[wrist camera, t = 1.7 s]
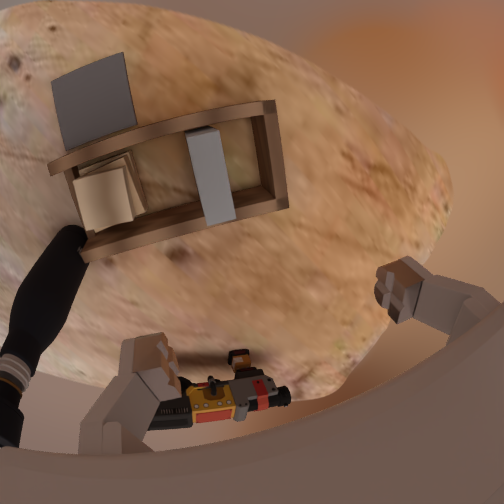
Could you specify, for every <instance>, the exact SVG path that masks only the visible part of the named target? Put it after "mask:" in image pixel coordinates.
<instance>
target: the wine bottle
mask: <svg viewBox="0 0 504 504" xmlns="http://www.w3.org/2000/svg"><path fill="white" fill-rule="evenodd" d="M87 240H88V237H87V235H86V232H85V230H84V229H83V228H81V227H79V226H76V225H69V226H66V227H64V228H62V229H61V230H60V231H59V232H58V233H57V235H56V236H55V237H54V239H53V240H52V241H51V242H50V244H49V245H48V246H47V248H46V249H45V250H44V252H43V253H42V255H41V256H40V257H39V259H38V260H37V262H36V263H35V264H34V266H33V267H32V269H31V270H30V272H29V273H28V275H27V276H26V278H25V279H24V281H23V282H22V284H21V285H20V287H19V289H18V291H17V294H16V296H15V299H14V302H13V306H12V309H11V314H10V322H9V333H8V335H7V338H6V340H5V342H4V344H3V346H2V349H1V352H0V447H1V448H2V447H5V446H10V447H16V448H19V443H20V437H21V431H22V425H23V421H24V415H23V413H22V412H21V411H20V410H19V409H18V407H19V402H20V399H21V398H22V392H24V391H25V390H26V389H27V388H28V386H29V382H30V380H31V377H33V376H34V374H35V371H36V368H37V365H38V362H39V358H40V355H41V354H42V353H43V352H44V351H45V349H46V348H47V347H48V346H49V345H50V344H51V343H52V342H53V341H54V339H55V338H56V336H57V335H58V334H59V332H60V330H61V329H62V327H63V325H64V324H65V322H66V319H67V317H68V314H69V311H70V309H71V306H72V303H73V301H74V298H75V296H76V293H77V291H78V288H79V286H80V284H81V281H82V279H83V276H84V274H85V272H86V270H87V267H88V265H89V263H90V262H88V263H85V262H84V260H83V258H82V256H81V254H80V253H81V251H82V249H83V247H84V245H85V244H86V242H87Z"/></svg>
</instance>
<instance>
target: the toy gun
mask: <svg viewBox="0 0 504 504" xmlns="http://www.w3.org/2000/svg"><path fill="white" fill-rule="evenodd" d="M228 364H229V365H231V366H232V369H233V371H234V373H235V379H234V380H227V381H220V380H218V379H214V378H213V376H208V382H205V383H197V384H196V383H191V381H190V380H188V379H186V378H184V377H178V379H179V381H180V384H181V394H182V397H180V398H175V399H171V400H166V401H161V402H160V404H159V406H158V408H157V410H156V413H155V415H154V417H153V419H152V421H151V423H150V425H149V427H148V430H147V431H150V430H164V429H165V430H166V429H178V428H190V427H192V425H193V423H194V422H196V423H203V422H211V421H218V420H225V419H231V417H233V419H234V420H235V421H237V422H238V421H244V420H245V418H246V415H247V412H249V411H260V410H265V409H267V408H269V407H274V406H278V407H279V406H284V407H287V406H288V404H290V402H291V395H290V391H289V389H288V388H287V387H286V386H282V387H276V385H275V383H274V381H273V379H272V378H270V377H268V376H266V375H264V373H263V370H262V369H256V367H250V366H251V361H250V358H249V350H247V349H242V350H241V349H240V350H234V351H231V352H229V359H228Z"/></svg>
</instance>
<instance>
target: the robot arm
mask: <svg viewBox="0 0 504 504" xmlns="http://www.w3.org/2000/svg"><path fill="white" fill-rule="evenodd" d="M376 277H377V278H378V281H377V282H376V284H375V287H374V294H375V298H376V300H377V302H378V304H379V305H380V306H381V307H383V308H386V309H388V315H389V316H390V317H391V318H392V319H393V320H394V321H395V323H396V324H399V323H401V322H403V321H406V320H408V319H410V318H412V317H413V318H414V319H416V320H418V321H421V322H423V323H425V324H427V325H429V326H431V327H433V328H436V329H437V330H440V331H442V332H444V333H446V334H448V335H450V336H449V338H448V340H447V342H446V346H445V347H444V348H442V349H441V350H439V351H438V352H436V353H435V354H433V355H432V356H430V357H428V358H427V359H425V360H423V361H422V362H420V363H418V364H417V365H415V366H414V367H412V368H410V369H408V370H407V371H405V372H403V373H401V374H399V375H397V376H396V377H394V378H392V379H390V380H388V381H386V382H384V383H382V384H380V385H378V386H376V387H374V388H372V389H370V390H368V391H366V392H364V393H362V394H360V395H358V396H355V397H353V398H351V399H349V400H347V401H344V402H342V403H340V404H338V405H335V406H332V407H330V408H327V409H325V410H323V411H320V412H317V413H315V414H312V415H309V416H307V417H304V418H301V419H298V420H295V421H292V422H289V423H286V424H283V425H280V426H277V427H274V428H270V429H267V430H264V431H260V432H256V433H253V434H249V435H245V436H242V437H237V438H233V439H229V440H224V441H219V442H215V443H210V444H204V445H199V446H193V447H187V448H181V449H173V450H165V451H157V452H155V451H153V450H152V449H151V448H150V447H148V446H147V445H146V444H144V443H143V442H142V440H143V438H144V436H145V434H146V432H147V430H148V427H149V425H150V423H151V421H152V419H153V417H154V415H155V413H156V410H157V408H158V406H159V404H160V402H161V401H166V400H171V399H175V398H180V397H182V394H181V384H180V381H179V379H178V377H177V375H178V373H179V365H178V361H177V357H176V355H175V352H174V350H173V348H172V347H170V346H168V339H167V337H166V336H165V334H164V333H163V332H160V333H155V334H150V335H145V336H140V337H136V338H131V339H126V340H124V341H123V342H122V346H121V354H120V363H119V373H118V376H115V377H114V378H113V379H112V381H111V382H110V383H109V385H108V386H107V387H106V389H105V390H104V391H103V393H102V394H101V395H100V397H99V398H98V399H97V401H96V402H95V404H94V405H93V407H92V408H91V409H90V410H89V412H88V413H87V415H86V416H85V417H84V419H83V420H82V422H81V424H80V434H79V448H78V454H65V453H53V452H43V451H35V450H27V449H22V448H16V447H10V446H5V447H2V448H1V449H0V504H504V302H503V303H500V302H498V301H497V300H496V299H495V298H494V297H493V296H492V295H491V294H489V293H488V292H487V291H486V290H485V289H484V288H482V287H478V286H475V285H471V284H468V283H465V282H461V281H458V280H454V279H451V278H447V277H443V276H440V275H433V274H431V273H430V272H429V271H428V270H427V269H425V268H424V267H423V266H422V265H420V264H419V263H418V262H417V261H415V260H414V259H413V258H412V257H409V256H406V257H403V258H401V259H398V260H396V261H394V262H391V263H388V264H386V265H383V266H381V267H378V269H377V271H376Z"/></svg>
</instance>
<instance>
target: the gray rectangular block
mask: <svg viewBox="0 0 504 504" xmlns="http://www.w3.org/2000/svg"><path fill="white" fill-rule="evenodd" d="M185 136H186V141H187V145H188V150H189V154H190V159H191V163H192V167H193V172H194V176H195V180H196V184H197V189H198V193H199V197H200V201H201V205H202V208H203V212H204V216H205V220H206V223H207V226H210V225H214V224H218V223H222V222H226V221H229V220H233V219H236V214H235V209H234V204H233V199H232V194H231V189H230V184H229V179H228V174H227V169H226V164H225V158H224V153H223V148H222V143H221V138H220V132H219V130H217V129H215V128H212V127H210V126H204V127H200V128H195V129H191V130H187V131H185Z"/></svg>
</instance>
